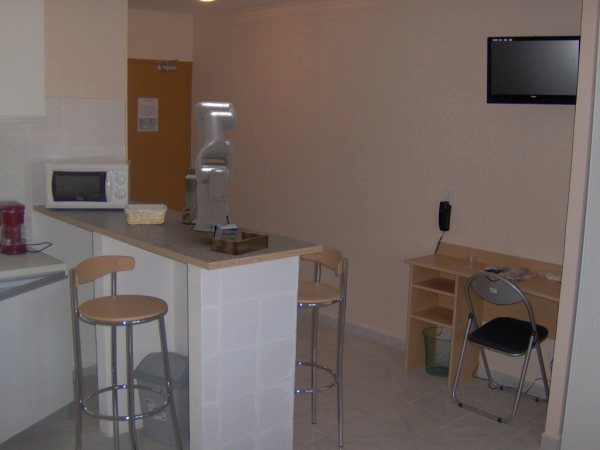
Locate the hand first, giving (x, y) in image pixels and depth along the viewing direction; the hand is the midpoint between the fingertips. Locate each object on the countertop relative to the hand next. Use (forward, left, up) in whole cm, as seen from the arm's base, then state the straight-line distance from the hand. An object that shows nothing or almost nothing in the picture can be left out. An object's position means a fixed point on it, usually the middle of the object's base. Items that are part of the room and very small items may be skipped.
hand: (217, 241), depth 301 cm
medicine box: (+4, 0, -1) cm, 4 cm away
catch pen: (+11, 0, -1) cm, 11 cm away
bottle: (-45, +32, -2) cm, 55 cm away
